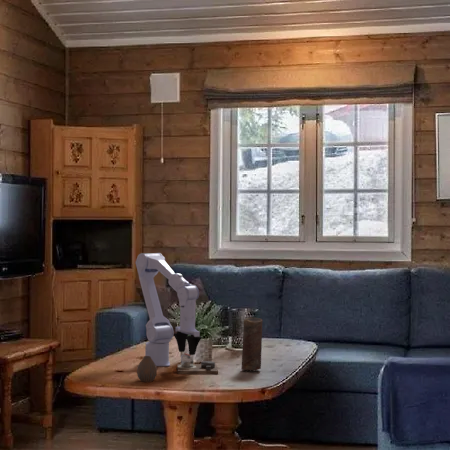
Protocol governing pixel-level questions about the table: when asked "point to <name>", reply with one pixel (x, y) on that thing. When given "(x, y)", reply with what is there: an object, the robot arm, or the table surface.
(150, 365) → the vase
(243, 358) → the candle
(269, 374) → the table surface
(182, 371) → the base board
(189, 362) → the knob
